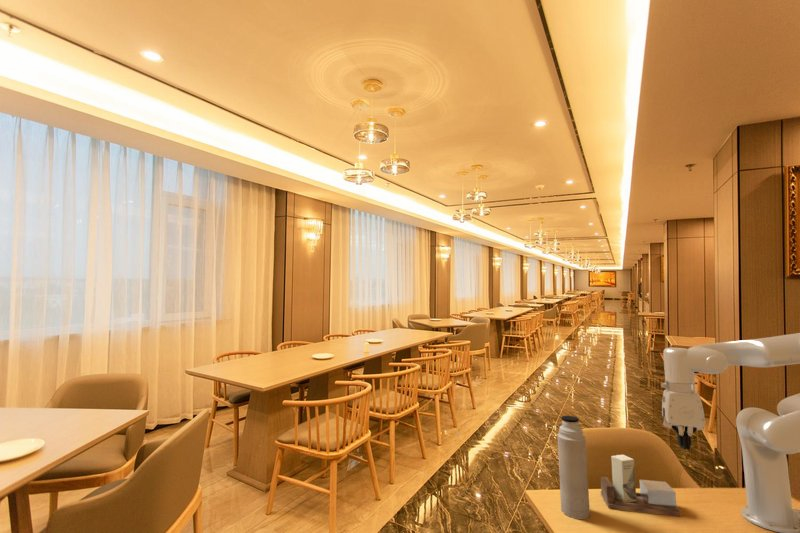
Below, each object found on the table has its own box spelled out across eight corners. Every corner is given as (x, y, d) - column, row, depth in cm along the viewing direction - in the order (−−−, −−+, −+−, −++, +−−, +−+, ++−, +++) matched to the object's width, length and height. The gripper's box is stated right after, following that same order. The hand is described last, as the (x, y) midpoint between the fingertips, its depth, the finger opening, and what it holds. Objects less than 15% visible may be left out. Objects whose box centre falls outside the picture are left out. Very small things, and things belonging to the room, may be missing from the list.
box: (624, 504, 115) (621, 461, 117) (612, 497, 119) (610, 455, 121) (637, 501, 117) (634, 458, 118) (625, 494, 121) (622, 453, 122)
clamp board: (667, 502, 119) (666, 481, 119) (680, 516, 111) (678, 494, 111) (600, 495, 123) (599, 475, 124) (608, 508, 115) (607, 487, 116)
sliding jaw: (666, 498, 118) (665, 481, 119) (676, 509, 112) (675, 491, 112) (640, 495, 120) (639, 479, 120) (648, 506, 114) (647, 488, 114)
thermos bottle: (585, 506, 117) (580, 414, 120) (593, 520, 109) (587, 421, 112) (558, 503, 118) (554, 412, 121) (564, 517, 110) (559, 420, 113)
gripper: (658, 388, 116) (663, 450, 114) (714, 391, 112) (720, 454, 110) (648, 383, 123) (652, 441, 121) (701, 386, 119) (705, 445, 118)
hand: (684, 447), depth 116 cm, fingers closed
